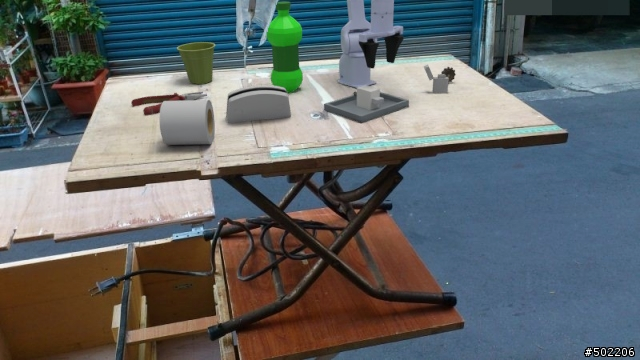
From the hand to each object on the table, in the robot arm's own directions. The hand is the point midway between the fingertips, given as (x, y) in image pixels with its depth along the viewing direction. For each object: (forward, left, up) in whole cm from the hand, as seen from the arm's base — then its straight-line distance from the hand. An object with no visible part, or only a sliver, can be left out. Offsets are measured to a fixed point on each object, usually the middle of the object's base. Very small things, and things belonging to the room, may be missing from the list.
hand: (380, 65), depth 143 cm
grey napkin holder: (-13, -31, -11) cm, 36 cm away
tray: (+1, -7, -10) cm, 12 cm away
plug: (+2, -7, -10) cm, 12 cm away
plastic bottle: (-28, -11, -11) cm, 31 cm away
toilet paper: (-11, -53, -11) cm, 55 cm away
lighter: (+5, +17, -11) cm, 21 cm away
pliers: (-39, -43, -11) cm, 59 cm away
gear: (+2, +27, -11) cm, 30 cm away
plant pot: (-55, -25, -11) cm, 61 cm away
